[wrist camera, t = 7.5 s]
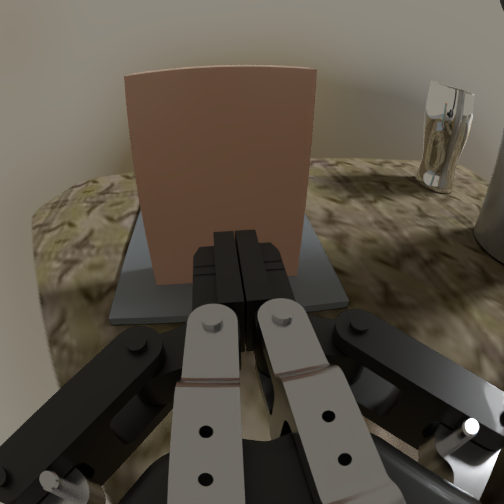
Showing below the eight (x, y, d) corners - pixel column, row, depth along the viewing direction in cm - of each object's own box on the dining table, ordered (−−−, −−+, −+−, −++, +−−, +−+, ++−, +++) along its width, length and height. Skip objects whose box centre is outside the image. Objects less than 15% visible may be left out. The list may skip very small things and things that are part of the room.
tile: (290, 257, 25) (305, 67, 16) (297, 275, 23) (316, 69, 14) (159, 265, 23) (133, 73, 15) (156, 285, 22) (124, 76, 13)
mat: (285, 184, 37) (286, 179, 37) (347, 307, 21) (349, 300, 21) (149, 191, 35) (148, 187, 35) (111, 324, 19) (108, 318, 19)
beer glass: (429, 173, 44) (446, 84, 35) (462, 193, 39) (484, 97, 30) (403, 176, 41) (419, 76, 33) (437, 197, 36) (461, 89, 27)
